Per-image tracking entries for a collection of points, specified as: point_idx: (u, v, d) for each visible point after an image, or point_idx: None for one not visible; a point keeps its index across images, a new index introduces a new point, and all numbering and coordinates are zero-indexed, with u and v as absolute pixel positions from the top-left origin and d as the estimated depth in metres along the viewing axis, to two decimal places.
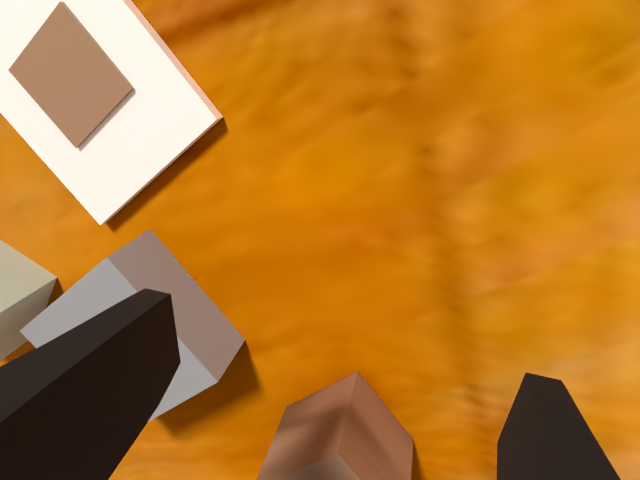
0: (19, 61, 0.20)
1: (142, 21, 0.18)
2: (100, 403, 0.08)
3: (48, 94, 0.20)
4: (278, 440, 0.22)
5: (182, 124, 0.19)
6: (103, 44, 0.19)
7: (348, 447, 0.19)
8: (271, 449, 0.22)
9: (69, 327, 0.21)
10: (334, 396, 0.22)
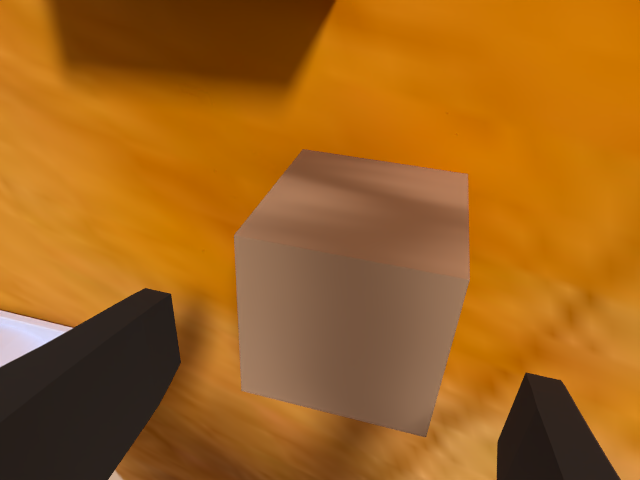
0: None
1: None
2: (100, 403, 0.08)
3: None
4: (292, 187, 0.12)
5: None
6: None
7: None
8: (275, 192, 0.11)
9: None
10: (422, 184, 0.12)
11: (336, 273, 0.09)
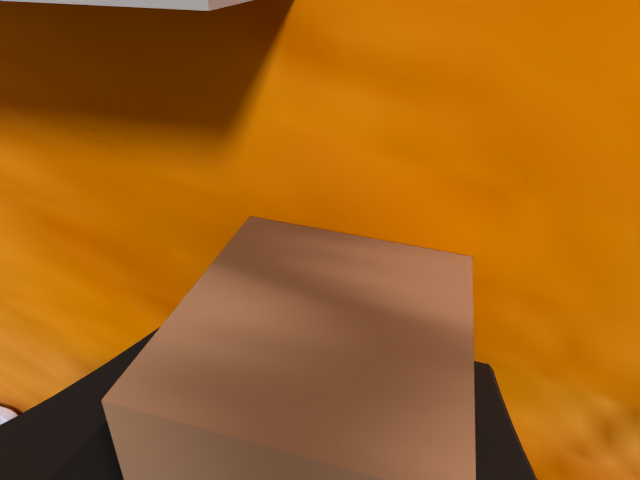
0: None
1: None
2: None
3: None
4: (218, 291, 0.08)
5: None
6: None
7: None
8: (191, 301, 0.08)
9: None
10: (407, 280, 0.09)
11: (261, 465, 0.06)
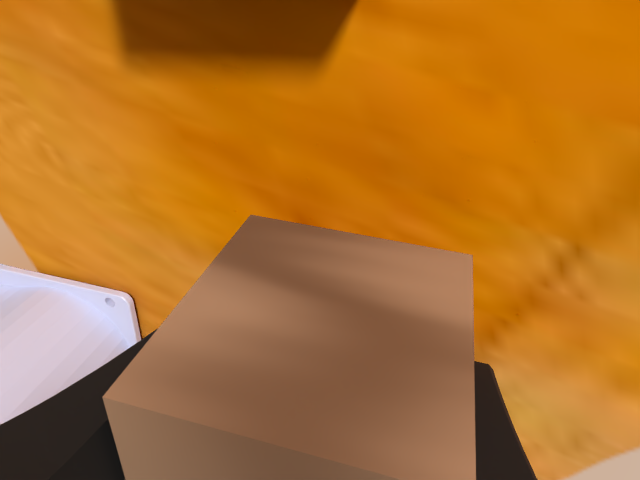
0: None
1: None
2: None
3: None
4: (219, 289, 0.08)
5: None
6: None
7: None
8: (192, 298, 0.08)
9: None
10: (407, 278, 0.09)
11: (262, 462, 0.06)
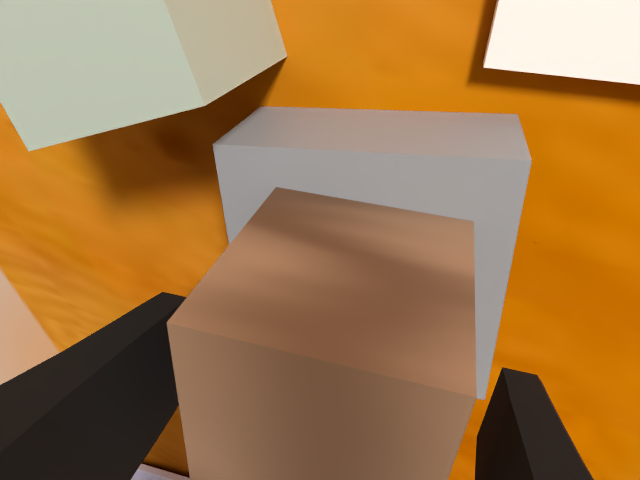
0: None
1: None
2: (121, 409, 0.08)
3: None
4: (254, 245, 0.09)
5: None
6: None
7: None
8: (231, 251, 0.09)
9: None
10: (417, 239, 0.10)
11: (299, 375, 0.07)
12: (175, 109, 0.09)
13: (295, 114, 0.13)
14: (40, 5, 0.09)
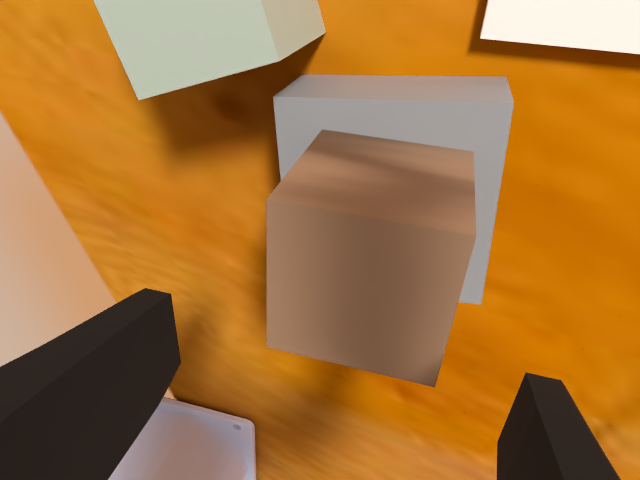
0: None
1: None
2: (100, 403, 0.08)
3: None
4: (315, 161, 0.13)
5: None
6: None
7: None
8: (299, 164, 0.12)
9: None
10: (432, 160, 0.13)
11: (357, 232, 0.11)
12: (256, 64, 0.13)
13: (332, 78, 0.17)
14: None
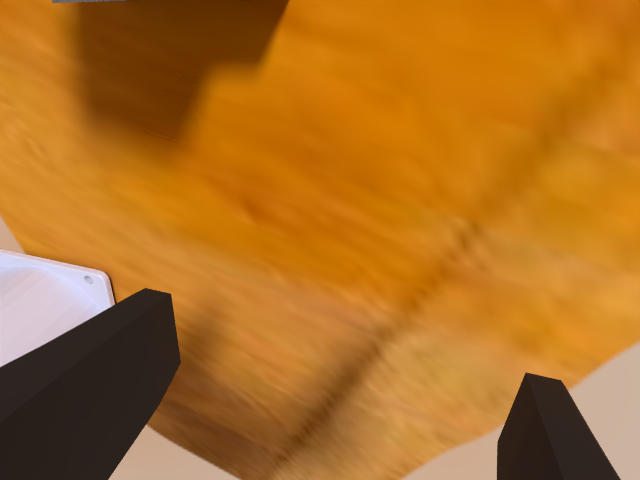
0: None
1: None
2: (100, 403, 0.08)
3: None
4: None
5: None
6: None
7: None
8: None
9: None
10: None
11: None
12: None
13: None
14: None
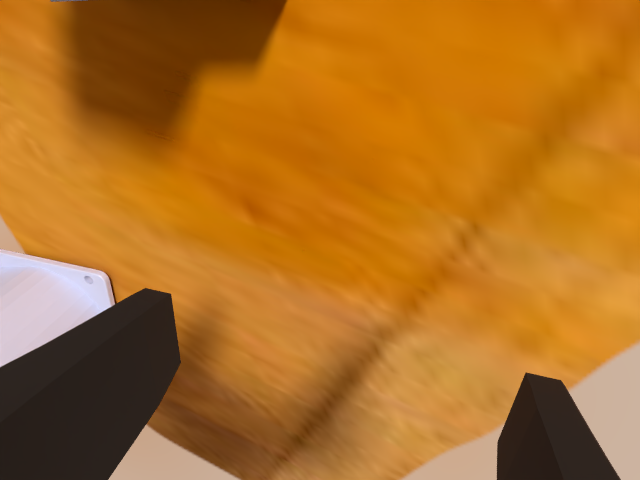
0: None
1: None
2: (100, 403, 0.08)
3: None
4: None
5: None
6: None
7: None
8: None
9: None
10: None
11: None
12: None
13: None
14: None
